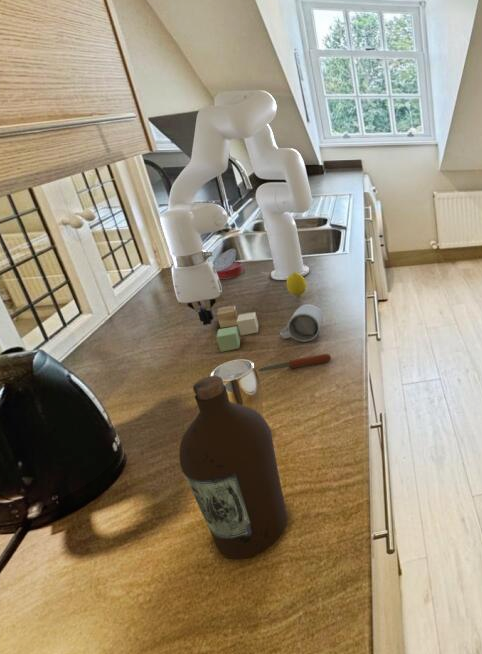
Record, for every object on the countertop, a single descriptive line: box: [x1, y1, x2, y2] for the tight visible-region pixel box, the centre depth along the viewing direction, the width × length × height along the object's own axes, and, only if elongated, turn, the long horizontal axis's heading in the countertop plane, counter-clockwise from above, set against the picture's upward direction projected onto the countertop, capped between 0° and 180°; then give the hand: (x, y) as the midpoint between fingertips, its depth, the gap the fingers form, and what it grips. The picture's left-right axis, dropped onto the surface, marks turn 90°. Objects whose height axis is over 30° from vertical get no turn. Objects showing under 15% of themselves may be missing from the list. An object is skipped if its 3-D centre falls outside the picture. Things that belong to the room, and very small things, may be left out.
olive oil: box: [178, 375, 288, 560], centre depth 60 cm, size 11×11×25 cm
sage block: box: [216, 325, 242, 353], centre depth 112 cm, size 4×4×4 cm
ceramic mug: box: [279, 303, 324, 343], centre depth 116 cm, size 11×8×8 cm
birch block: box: [216, 305, 239, 329], centre depth 124 cm, size 4×4×4 cm
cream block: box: [237, 311, 259, 336], centre depth 120 cm, size 4×4×4 cm
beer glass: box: [210, 358, 265, 419], centre depth 78 cm, size 7×7×15 cm
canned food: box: [212, 248, 244, 280], centre depth 159 cm, size 11×10×10 cm
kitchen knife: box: [257, 353, 332, 372], centre depth 103 cm, size 16×1×2 cm, turn 108°
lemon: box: [286, 272, 307, 298], centre depth 138 cm, size 6×6×8 cm
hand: (208, 322), depth 123 cm, fingers closed
